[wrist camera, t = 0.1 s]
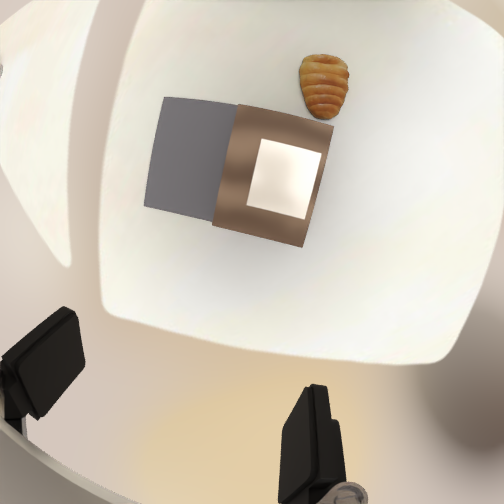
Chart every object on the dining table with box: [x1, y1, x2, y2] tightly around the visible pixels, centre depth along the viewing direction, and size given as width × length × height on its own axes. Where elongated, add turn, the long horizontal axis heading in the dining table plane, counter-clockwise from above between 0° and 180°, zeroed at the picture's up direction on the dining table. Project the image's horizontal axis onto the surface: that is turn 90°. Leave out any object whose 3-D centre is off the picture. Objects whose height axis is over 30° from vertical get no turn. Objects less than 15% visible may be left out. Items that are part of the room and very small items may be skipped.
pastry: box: [299, 54, 349, 119], centre depth 30 cm, size 9×7×4 cm
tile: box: [246, 139, 321, 220], centre depth 32 cm, size 8×7×2 cm
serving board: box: [212, 104, 334, 248], centre depth 35 cm, size 16×12×4 cm
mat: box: [144, 97, 238, 222], centre depth 37 cm, size 17×12×1 cm
